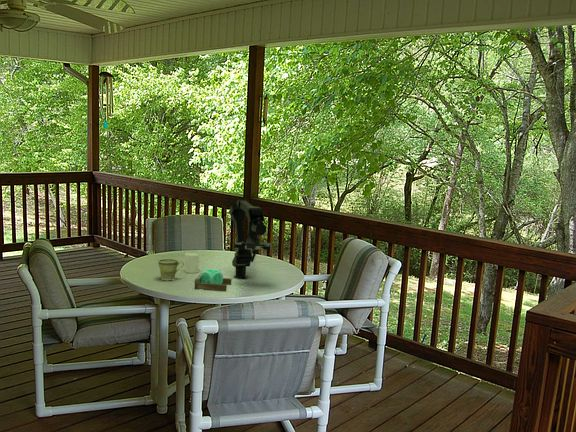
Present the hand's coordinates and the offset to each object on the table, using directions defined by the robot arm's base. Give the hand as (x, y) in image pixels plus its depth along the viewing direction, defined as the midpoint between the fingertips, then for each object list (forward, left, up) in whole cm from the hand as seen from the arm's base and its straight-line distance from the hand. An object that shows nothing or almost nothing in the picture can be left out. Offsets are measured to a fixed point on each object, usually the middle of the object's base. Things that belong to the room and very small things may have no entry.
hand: (252, 261), depth 283 cm
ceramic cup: (+1, -42, -12) cm, 44 cm away
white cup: (-18, -36, -12) cm, 42 cm away
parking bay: (+9, -18, -12) cm, 23 cm away
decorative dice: (+9, -19, -12) cm, 24 cm away
